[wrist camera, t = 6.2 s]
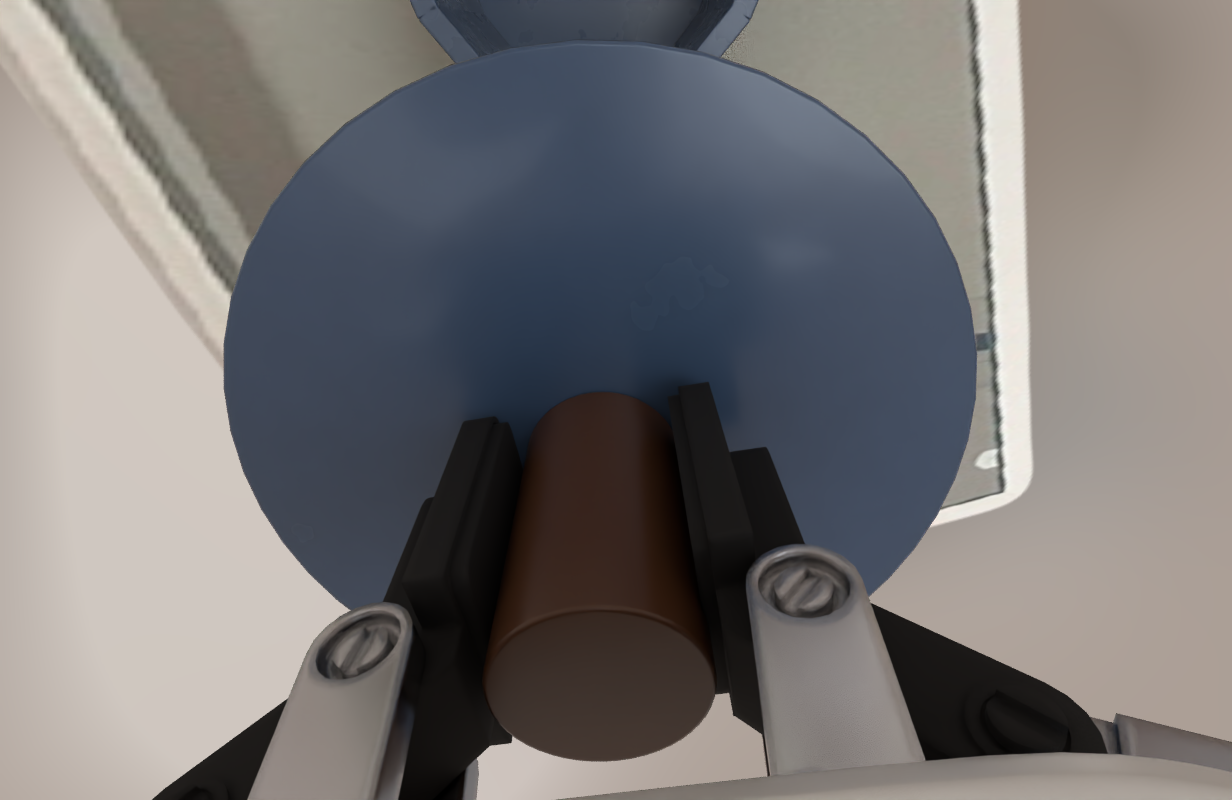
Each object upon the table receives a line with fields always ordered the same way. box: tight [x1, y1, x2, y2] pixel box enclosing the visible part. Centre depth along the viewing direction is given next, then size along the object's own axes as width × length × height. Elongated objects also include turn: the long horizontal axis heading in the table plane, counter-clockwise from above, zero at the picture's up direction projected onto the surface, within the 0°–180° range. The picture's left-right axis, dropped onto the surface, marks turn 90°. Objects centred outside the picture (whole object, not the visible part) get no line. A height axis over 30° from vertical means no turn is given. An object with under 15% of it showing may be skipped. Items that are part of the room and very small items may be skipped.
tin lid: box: [224, 39, 977, 761], centre depth 10 cm, size 14×14×6 cm
